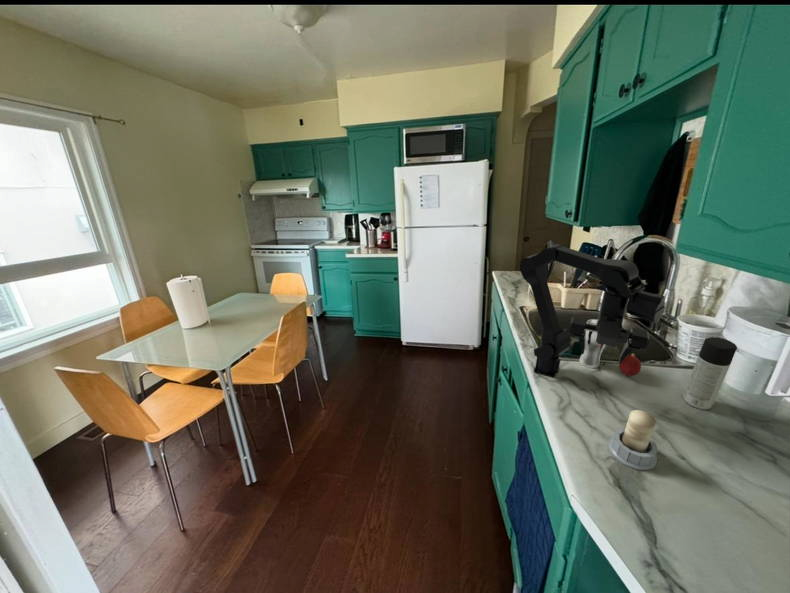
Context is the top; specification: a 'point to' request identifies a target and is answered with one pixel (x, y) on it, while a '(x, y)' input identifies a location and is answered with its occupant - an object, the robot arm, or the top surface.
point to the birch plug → (638, 431)
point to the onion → (630, 365)
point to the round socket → (632, 453)
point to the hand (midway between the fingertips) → (601, 357)
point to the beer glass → (591, 348)
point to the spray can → (709, 372)
